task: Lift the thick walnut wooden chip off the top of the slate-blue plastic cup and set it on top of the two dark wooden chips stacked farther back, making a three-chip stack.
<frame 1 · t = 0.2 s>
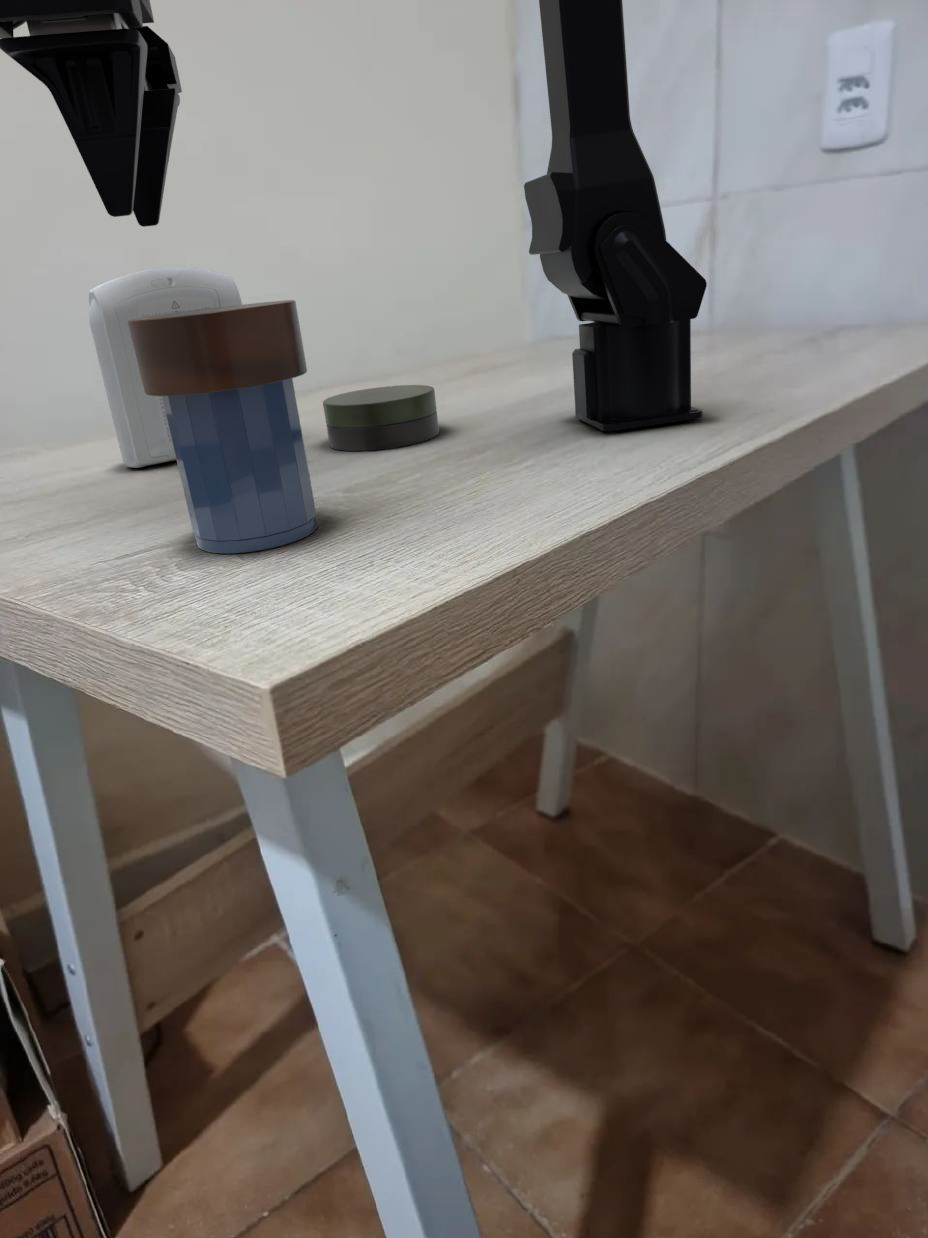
hand: (136, 221, 47), 15 cm above the table, tool pointing down, fingers open, 9 cm apart
blue cup: (258, 534, 41), on the table, touching walnut chip
photo printer: (199, 456, 62), on the table
chip stack: (384, 438, 60), on the table
walnut chip: (227, 381, 38), point 7 cm above the table, touching blue cup
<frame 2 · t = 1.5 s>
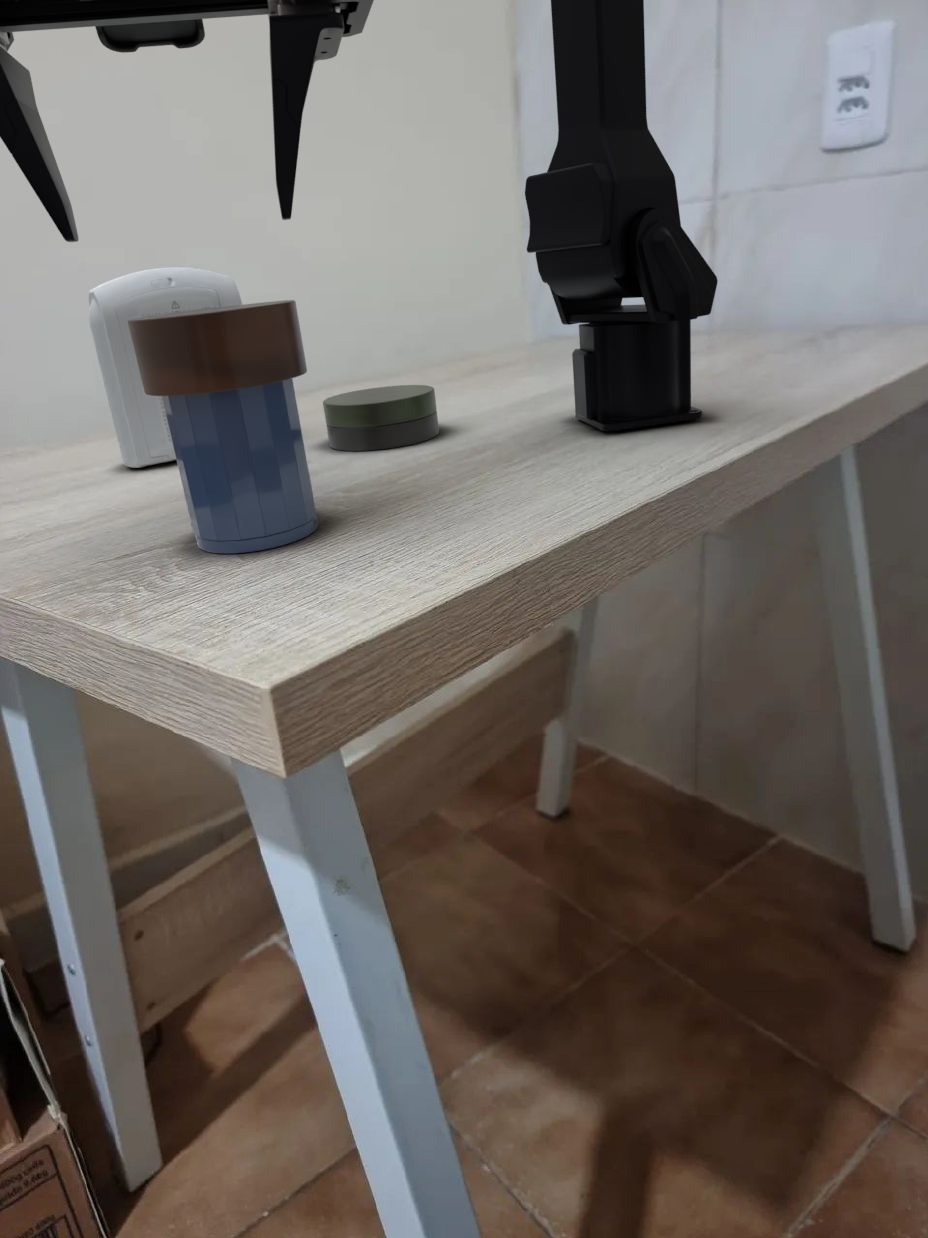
hand: (181, 229, 38), 13 cm above the table, tool pointing down, fingers open, 9 cm apart
nothing on the table moved.
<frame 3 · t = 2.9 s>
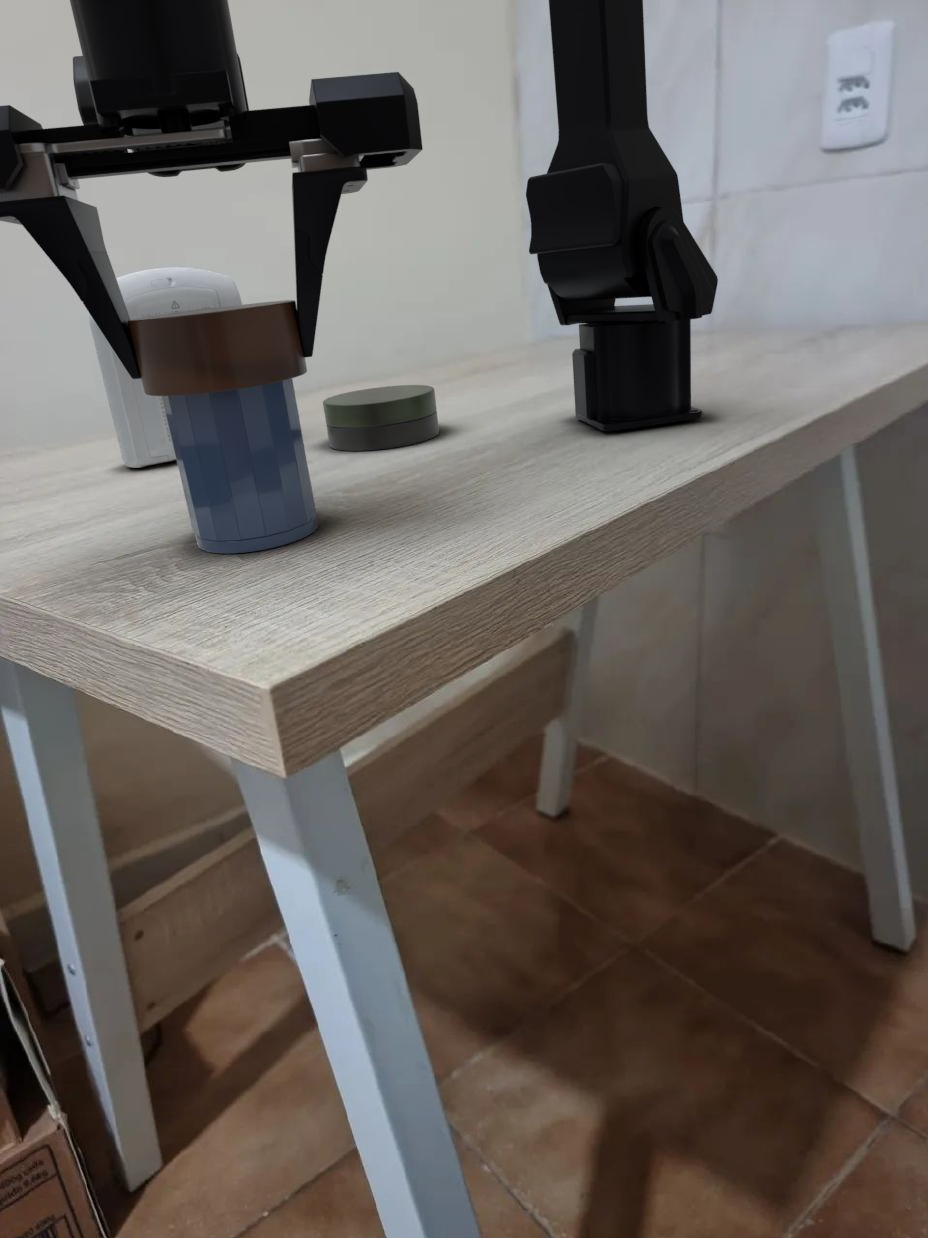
hand: (225, 366, 38), 8 cm above the table, tool pointing down, fingers closed on walnut chip, 7 cm apart
walnut chip: (227, 381, 38), point 7 cm above the table, touching blue cup, gripper
everything else where it was.
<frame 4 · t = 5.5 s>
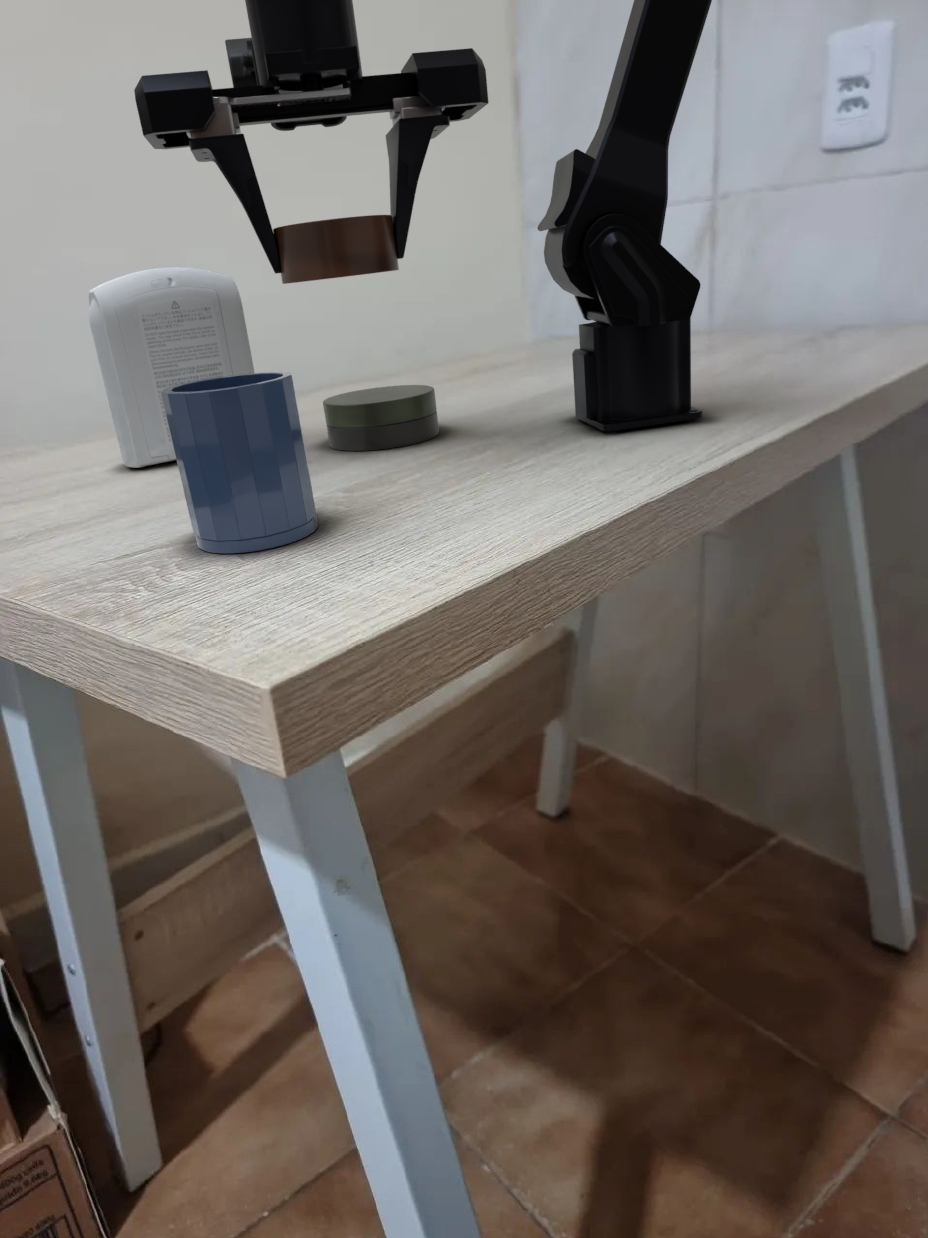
hand: (339, 265, 52), 11 cm above the table, tool pointing down, fingers closed on walnut chip, 7 cm apart
blue cup: (258, 534, 41), on the table
walnut chip: (341, 276, 52), point 11 cm above the table, touching gripper
everything else where it was.
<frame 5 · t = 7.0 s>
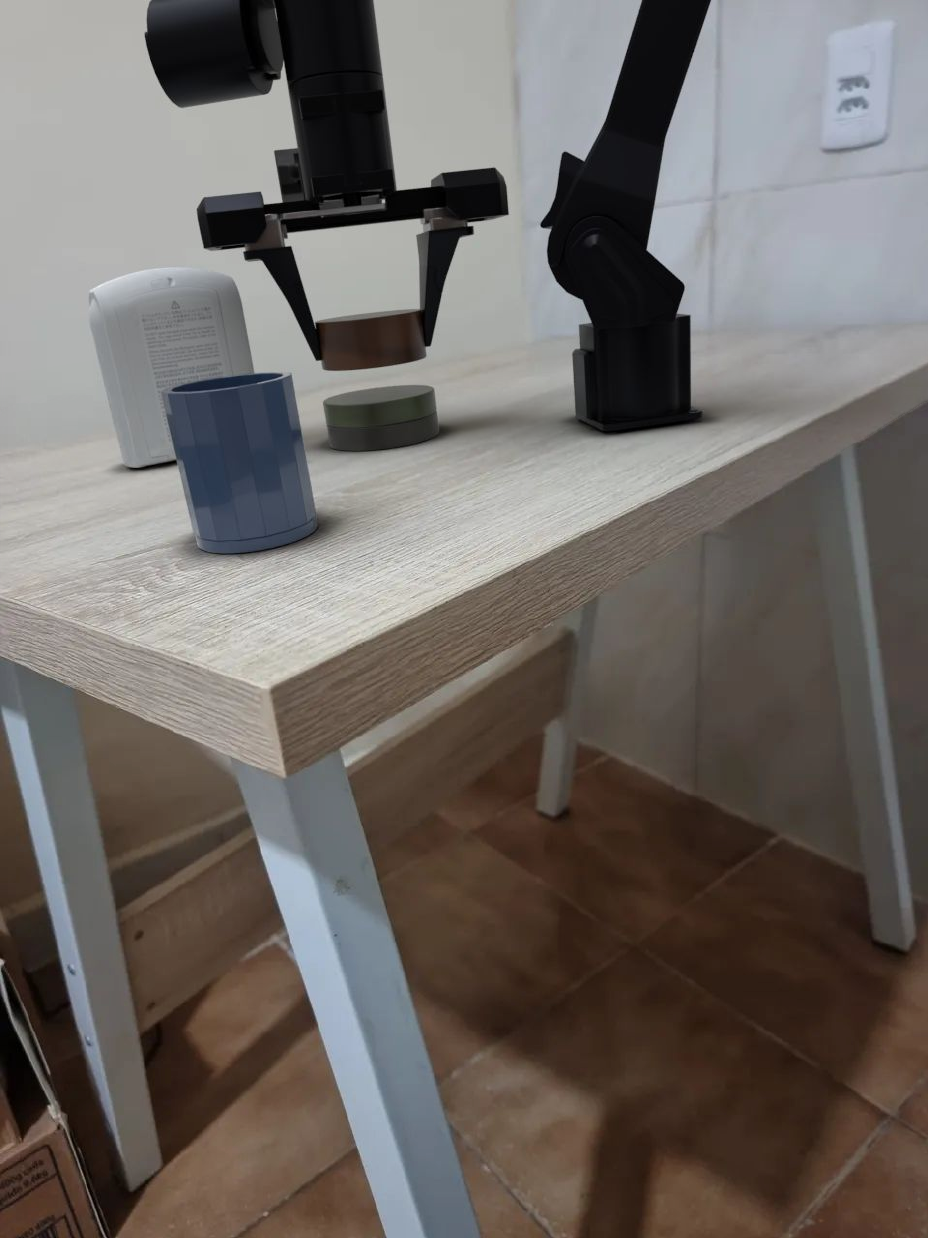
hand: (373, 353, 58), 6 cm above the table, tool pointing down, fingers closed on walnut chip, 7 cm apart
walnut chip: (374, 362, 58), point 5 cm above the table, touching gripper
everything else where it was.
when the fingers open (4 cm above the table, at t = 8.2 s): walnut chip stays where it is, resting on chip stack.
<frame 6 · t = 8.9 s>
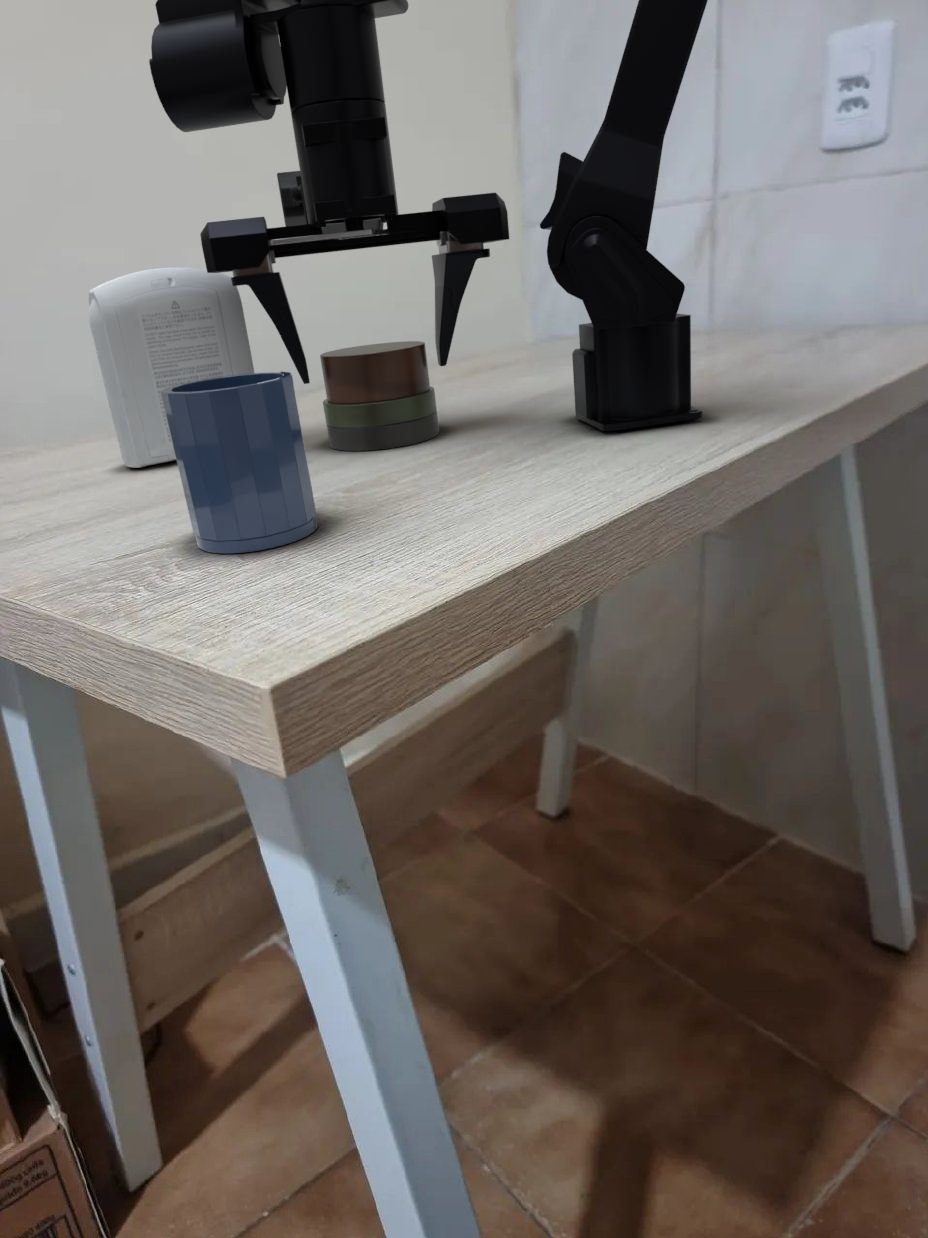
hand: (375, 374, 59), 4 cm above the table, tool pointing down, fingers open, 9 cm apart
chip stack: (384, 438, 60), on the table, touching walnut chip
walnut chip: (378, 394, 59), point 3 cm above the table, touching chip stack
everything else where it was.
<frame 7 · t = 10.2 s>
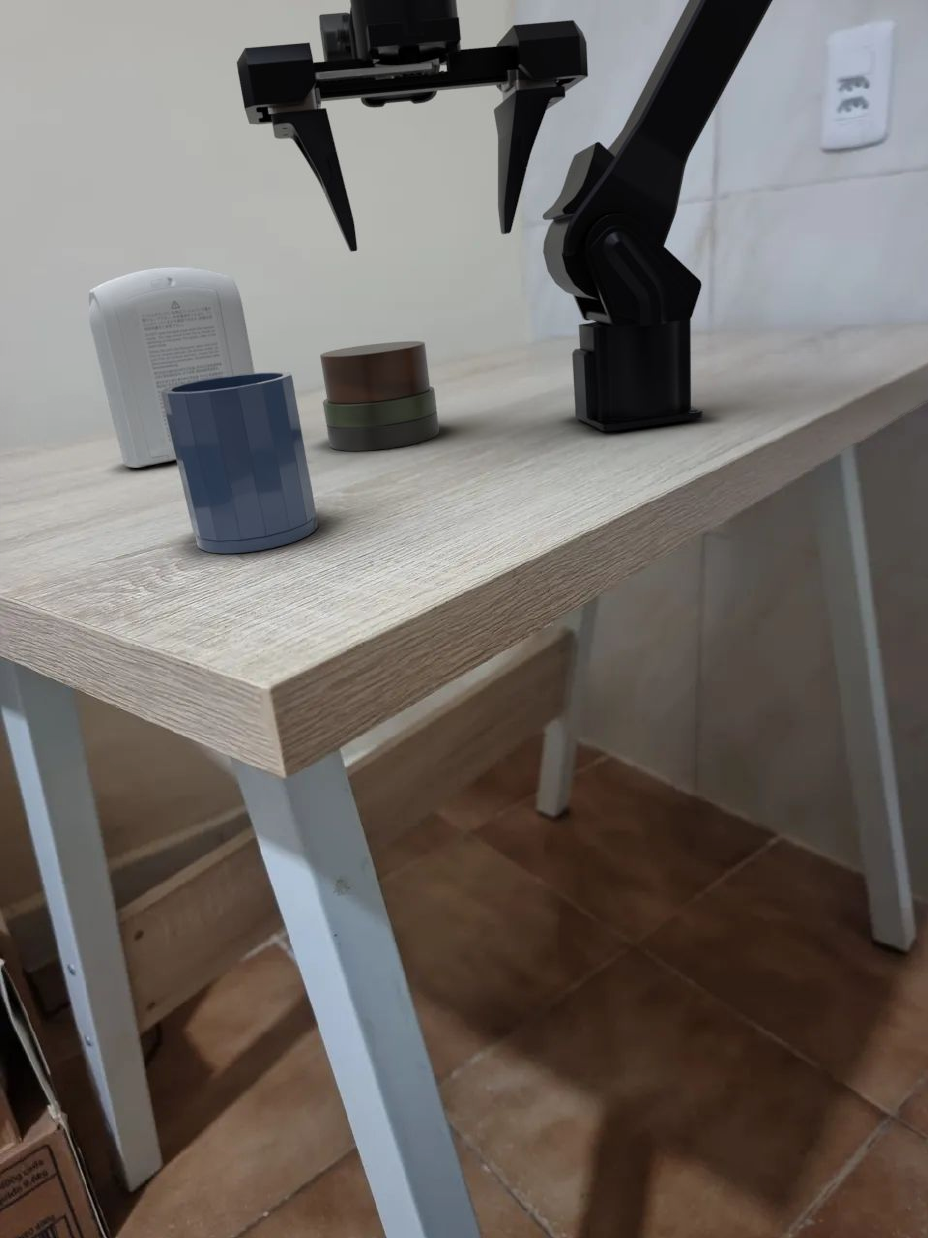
hand: (430, 242, 52), 12 cm above the table, tool pointing down, fingers open, 9 cm apart
nothing on the table moved.
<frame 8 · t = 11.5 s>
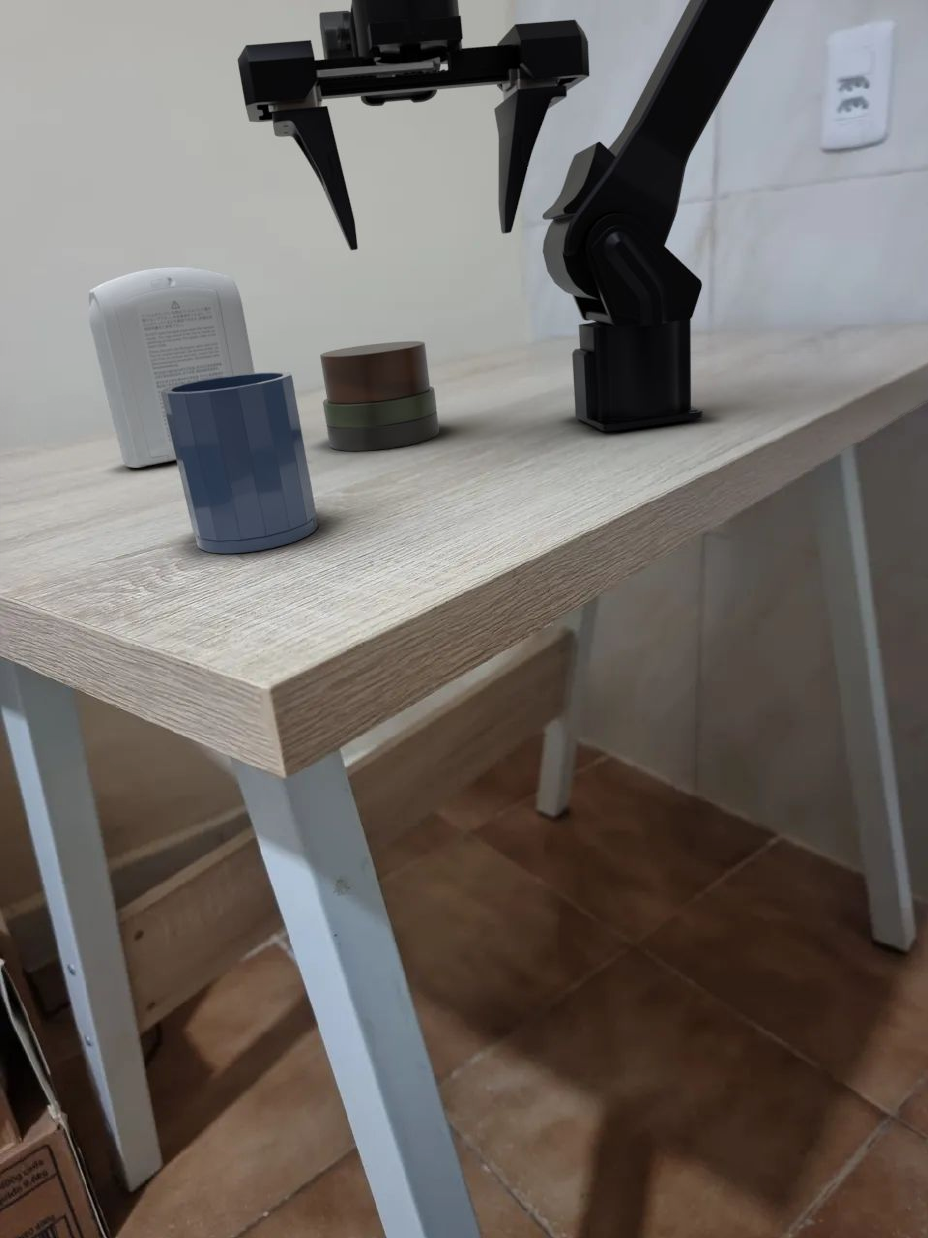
hand: (431, 241, 52), 12 cm above the table, tool pointing down, fingers open, 9 cm apart
nothing on the table moved.
at the end: walnut chip 0.0 cm off-centre on the chip stack, point 3.0 cm above the chip stack's base; walnut chip tilted 0° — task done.
